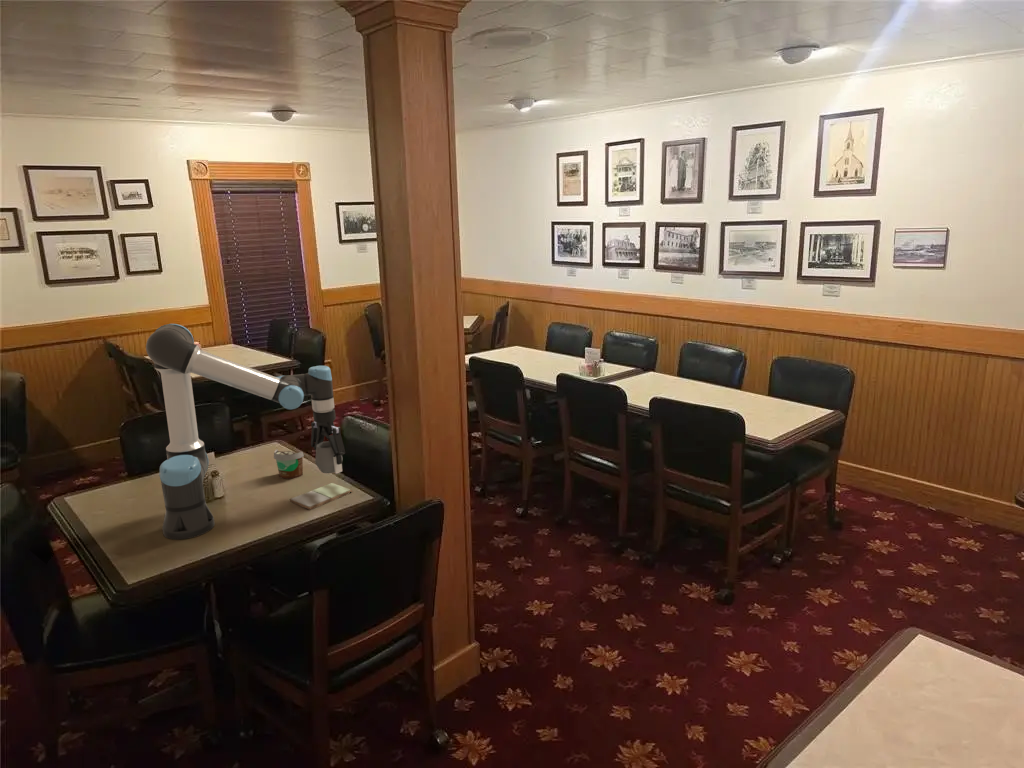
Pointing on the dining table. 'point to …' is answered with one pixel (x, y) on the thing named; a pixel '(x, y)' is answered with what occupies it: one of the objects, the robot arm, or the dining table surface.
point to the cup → (325, 457)
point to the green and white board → (320, 496)
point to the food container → (289, 464)
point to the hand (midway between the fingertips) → (329, 469)
